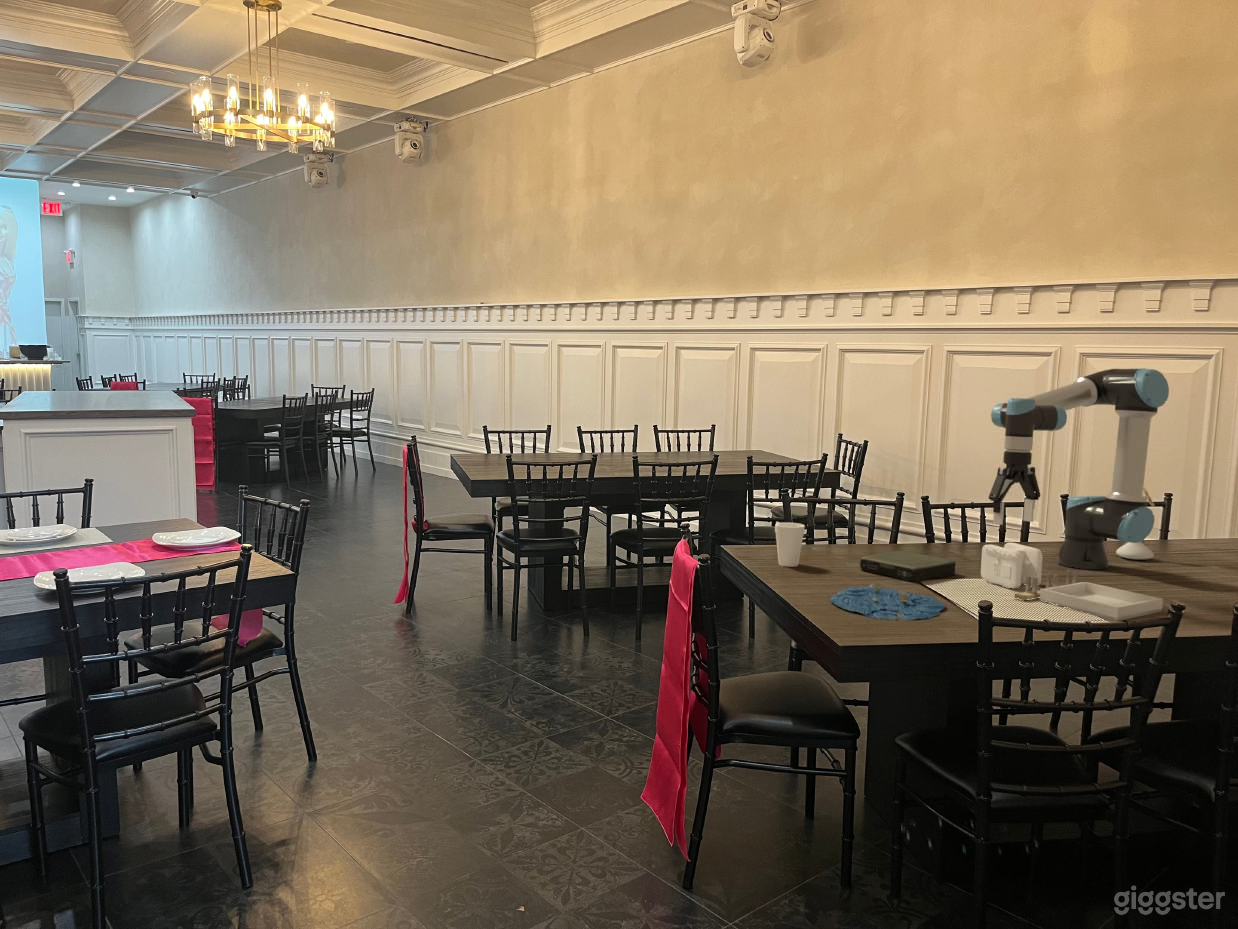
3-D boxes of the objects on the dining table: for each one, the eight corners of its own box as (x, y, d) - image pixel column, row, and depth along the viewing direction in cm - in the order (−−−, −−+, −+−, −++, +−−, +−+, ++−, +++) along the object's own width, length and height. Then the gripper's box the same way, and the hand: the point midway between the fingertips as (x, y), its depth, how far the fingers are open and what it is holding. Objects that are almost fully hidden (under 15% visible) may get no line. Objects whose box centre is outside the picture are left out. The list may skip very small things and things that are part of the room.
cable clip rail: (1076, 588, 267) (1078, 568, 266) (1086, 590, 264) (1087, 570, 264) (1014, 599, 253) (1015, 577, 252) (1023, 601, 250) (1025, 580, 250)
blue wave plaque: (970, 624, 233) (972, 604, 233) (862, 627, 227) (864, 607, 226) (910, 591, 262) (912, 574, 261) (813, 594, 256) (814, 576, 255)
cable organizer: (1043, 589, 265) (1045, 550, 264) (1013, 592, 262) (1016, 552, 260) (1006, 578, 279) (1008, 541, 278) (978, 580, 276) (980, 542, 275)
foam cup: (792, 560, 301) (793, 521, 300) (809, 566, 293) (810, 526, 292) (768, 562, 297) (769, 523, 296) (785, 568, 289) (786, 528, 288)
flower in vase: (1145, 563, 305) (1150, 489, 302) (1109, 557, 314) (1114, 485, 311) (1161, 558, 313) (1166, 486, 310) (1126, 553, 322) (1131, 483, 319)
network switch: (959, 574, 285) (960, 559, 285) (924, 586, 269) (924, 569, 268) (891, 563, 302) (892, 548, 301) (854, 573, 286) (855, 557, 285)
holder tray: (1084, 593, 261) (1085, 581, 260) (1161, 611, 242) (1162, 598, 241) (1039, 601, 251) (1040, 589, 250) (1116, 620, 232) (1117, 607, 231)
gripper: (1033, 449, 276) (1029, 518, 278) (978, 450, 263) (974, 523, 265) (1056, 451, 269) (1051, 521, 271) (1000, 452, 257) (995, 527, 259)
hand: (1013, 522), depth 268 cm, fingers open, 13 cm apart
